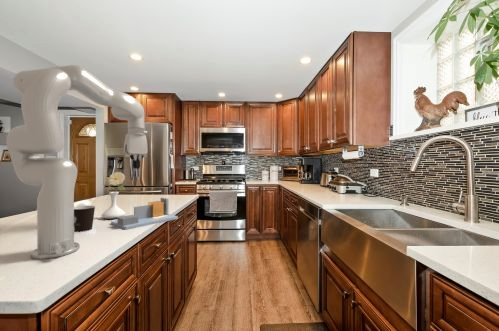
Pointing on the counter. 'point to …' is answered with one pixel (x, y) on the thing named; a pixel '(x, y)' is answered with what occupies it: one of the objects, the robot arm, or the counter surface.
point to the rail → (143, 217)
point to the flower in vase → (114, 209)
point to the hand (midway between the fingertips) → (136, 168)
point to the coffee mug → (83, 218)
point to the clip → (157, 208)
